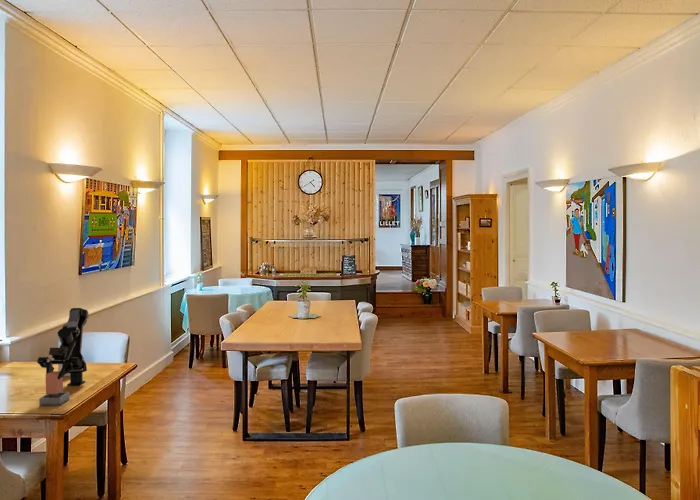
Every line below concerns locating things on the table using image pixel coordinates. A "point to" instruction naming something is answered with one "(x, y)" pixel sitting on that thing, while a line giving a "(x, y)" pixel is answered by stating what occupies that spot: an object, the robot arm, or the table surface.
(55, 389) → the red block
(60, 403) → the open box
